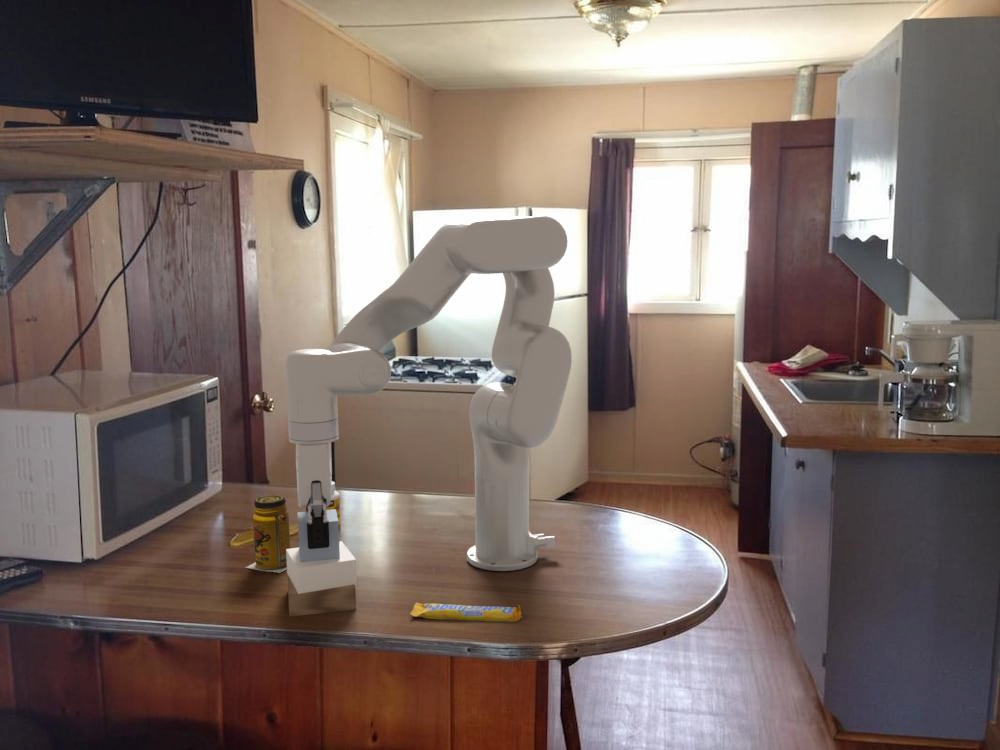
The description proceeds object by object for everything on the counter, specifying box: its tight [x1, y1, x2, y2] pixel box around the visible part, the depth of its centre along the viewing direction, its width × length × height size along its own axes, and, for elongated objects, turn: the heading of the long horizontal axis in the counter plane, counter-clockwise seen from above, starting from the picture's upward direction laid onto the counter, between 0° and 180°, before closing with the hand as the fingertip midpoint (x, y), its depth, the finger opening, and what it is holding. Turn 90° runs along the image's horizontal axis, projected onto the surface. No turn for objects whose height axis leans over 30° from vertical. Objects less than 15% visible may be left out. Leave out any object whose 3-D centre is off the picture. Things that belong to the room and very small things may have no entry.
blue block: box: [297, 509, 340, 562], centre depth 134 cm, size 6×6×6 cm
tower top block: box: [286, 540, 358, 594], centre depth 135 cm, size 9×9×4 cm
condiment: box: [244, 494, 291, 574], centre depth 150 cm, size 7×8×12 cm
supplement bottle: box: [326, 480, 341, 534], centre depth 165 cm, size 6×6×10 cm
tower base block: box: [287, 575, 357, 617], centre depth 135 cm, size 10×10×4 cm
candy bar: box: [409, 601, 523, 623], centre depth 129 cm, size 17×4×2 cm, turn 85°
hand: (317, 537), depth 134 cm, fingers open, 9 cm apart
